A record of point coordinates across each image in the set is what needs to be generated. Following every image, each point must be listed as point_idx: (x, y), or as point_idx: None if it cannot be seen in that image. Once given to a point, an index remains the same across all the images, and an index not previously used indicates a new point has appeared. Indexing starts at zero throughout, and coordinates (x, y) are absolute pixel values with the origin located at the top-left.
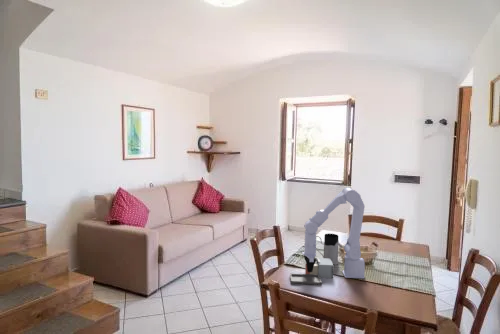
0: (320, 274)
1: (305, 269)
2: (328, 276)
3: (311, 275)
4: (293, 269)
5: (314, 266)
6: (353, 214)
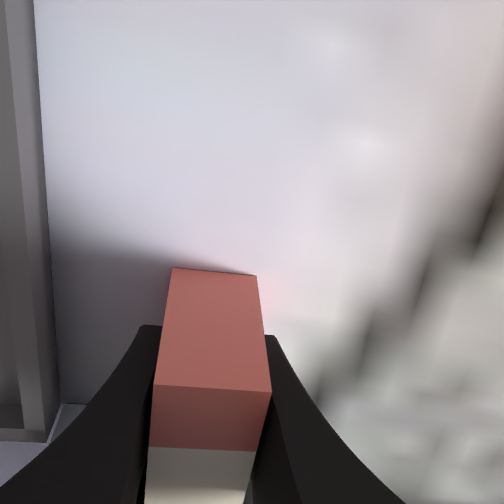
0: None
1: (242, 308)
2: None
3: (20, 344)
4: (413, 89)
5: (146, 492)
6: None
